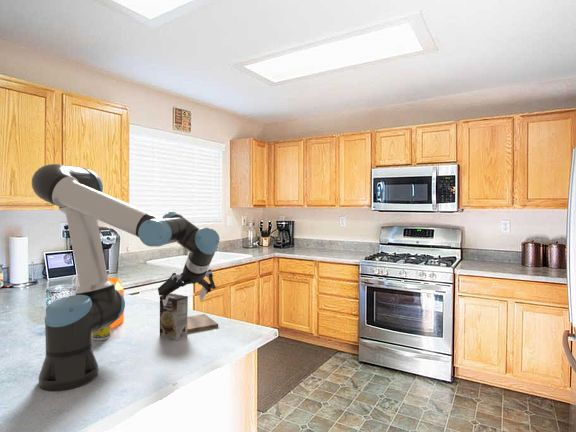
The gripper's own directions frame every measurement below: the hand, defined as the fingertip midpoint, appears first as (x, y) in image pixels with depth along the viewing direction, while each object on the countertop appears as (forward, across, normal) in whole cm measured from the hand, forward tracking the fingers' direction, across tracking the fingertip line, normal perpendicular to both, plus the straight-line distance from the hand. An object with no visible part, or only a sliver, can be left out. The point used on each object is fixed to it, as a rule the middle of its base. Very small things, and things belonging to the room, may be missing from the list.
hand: (182, 300), depth 134 cm
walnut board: (+25, +11, +2) cm, 28 cm away
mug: (+95, -24, +72) cm, 122 cm away
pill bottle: (+28, -24, +5) cm, 38 cm away
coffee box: (+19, 0, -5) cm, 20 cm away
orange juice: (+40, -20, +17) cm, 48 cm away
